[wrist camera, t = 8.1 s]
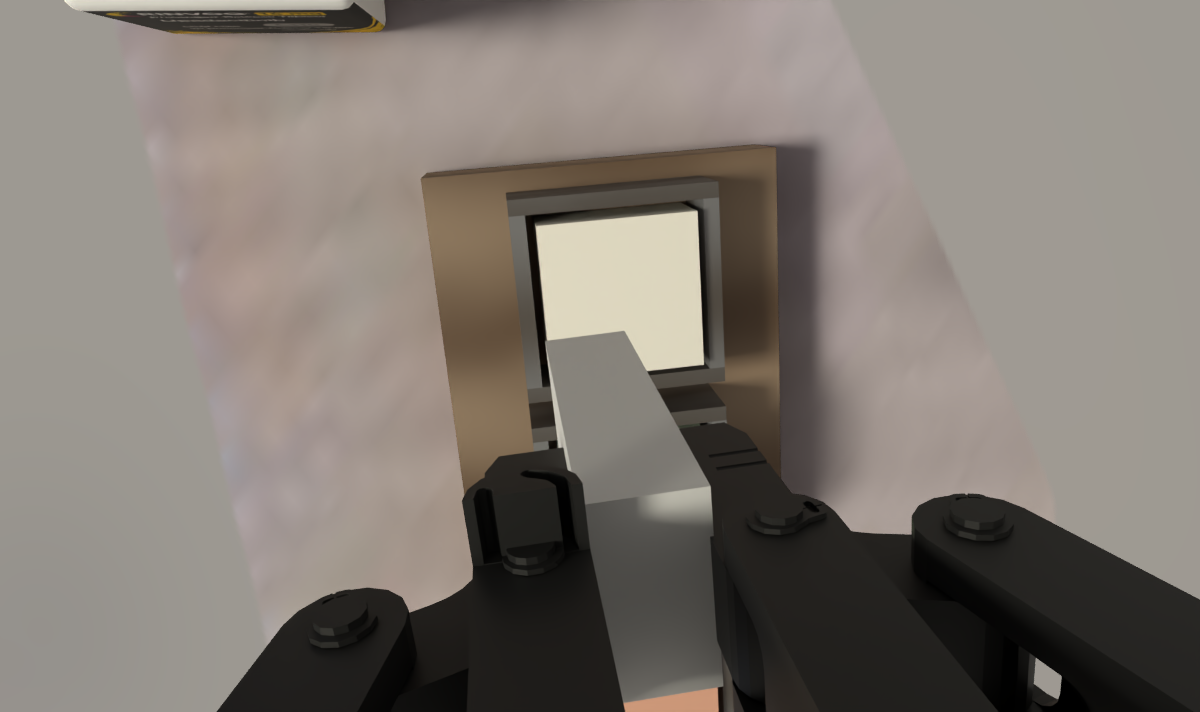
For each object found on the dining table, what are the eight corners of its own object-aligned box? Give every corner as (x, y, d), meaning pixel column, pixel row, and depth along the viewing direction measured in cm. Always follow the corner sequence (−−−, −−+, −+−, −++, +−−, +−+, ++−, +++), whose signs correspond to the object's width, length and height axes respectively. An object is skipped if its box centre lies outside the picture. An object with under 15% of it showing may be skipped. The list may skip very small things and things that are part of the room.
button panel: (426, 173, 29) (413, 185, 25) (754, 144, 31) (802, 151, 26) (499, 707, 36) (500, 798, 31) (765, 668, 37) (805, 750, 33)
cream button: (532, 215, 27) (536, 226, 25) (680, 202, 28) (697, 211, 26) (546, 359, 29) (551, 381, 27) (686, 344, 29) (703, 364, 27)
